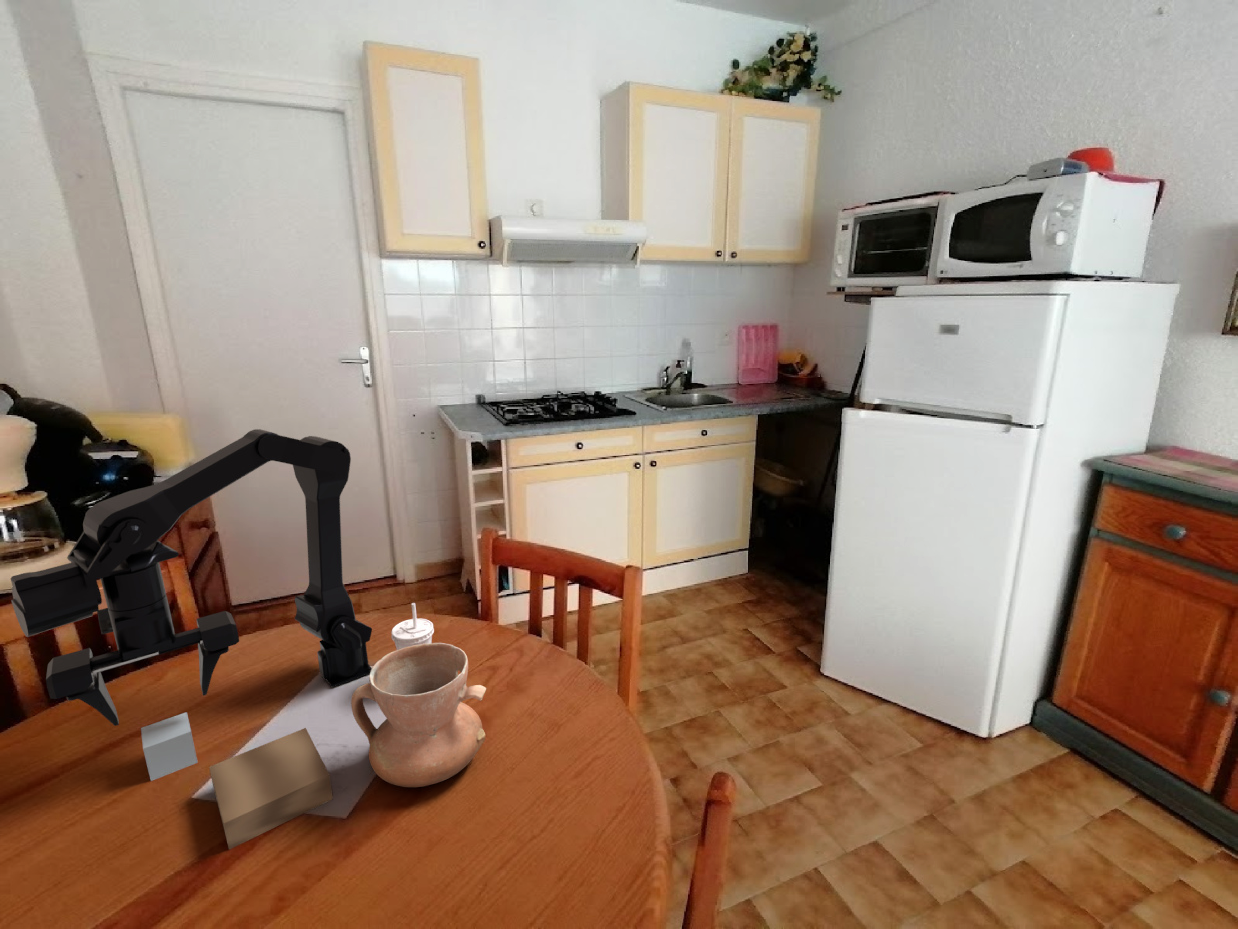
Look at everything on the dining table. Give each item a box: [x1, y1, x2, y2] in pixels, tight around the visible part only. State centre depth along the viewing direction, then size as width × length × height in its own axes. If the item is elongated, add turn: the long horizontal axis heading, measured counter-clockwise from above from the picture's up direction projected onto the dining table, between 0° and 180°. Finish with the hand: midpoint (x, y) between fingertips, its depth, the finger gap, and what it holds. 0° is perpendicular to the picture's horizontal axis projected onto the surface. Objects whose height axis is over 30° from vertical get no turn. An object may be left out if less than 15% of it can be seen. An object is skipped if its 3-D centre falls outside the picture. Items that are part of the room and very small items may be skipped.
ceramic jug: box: [350, 642, 487, 788], centre depth 79 cm, size 18×14×14 cm
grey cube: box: [140, 712, 199, 782], centre depth 79 cm, size 5×5×5 cm
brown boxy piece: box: [208, 727, 334, 850], centre depth 74 cm, size 11×11×4 cm
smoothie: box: [391, 602, 435, 650], centre depth 95 cm, size 6×6×14 cm
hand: (162, 708), depth 78 cm, fingers open, 9 cm apart
